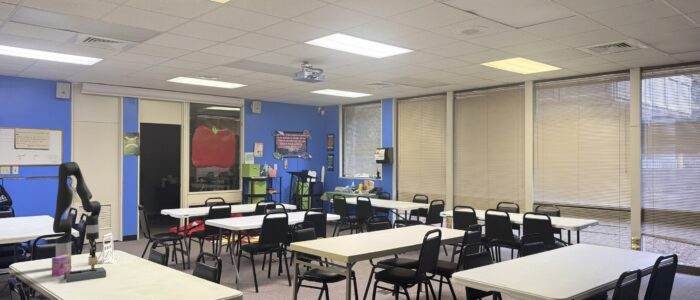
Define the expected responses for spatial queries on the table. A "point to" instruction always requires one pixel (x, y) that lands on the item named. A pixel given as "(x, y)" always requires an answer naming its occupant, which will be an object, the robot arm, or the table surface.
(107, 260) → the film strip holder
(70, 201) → the robot arm
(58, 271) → the box
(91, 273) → the keyhole plate
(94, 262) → the brass peg
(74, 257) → the table surface
